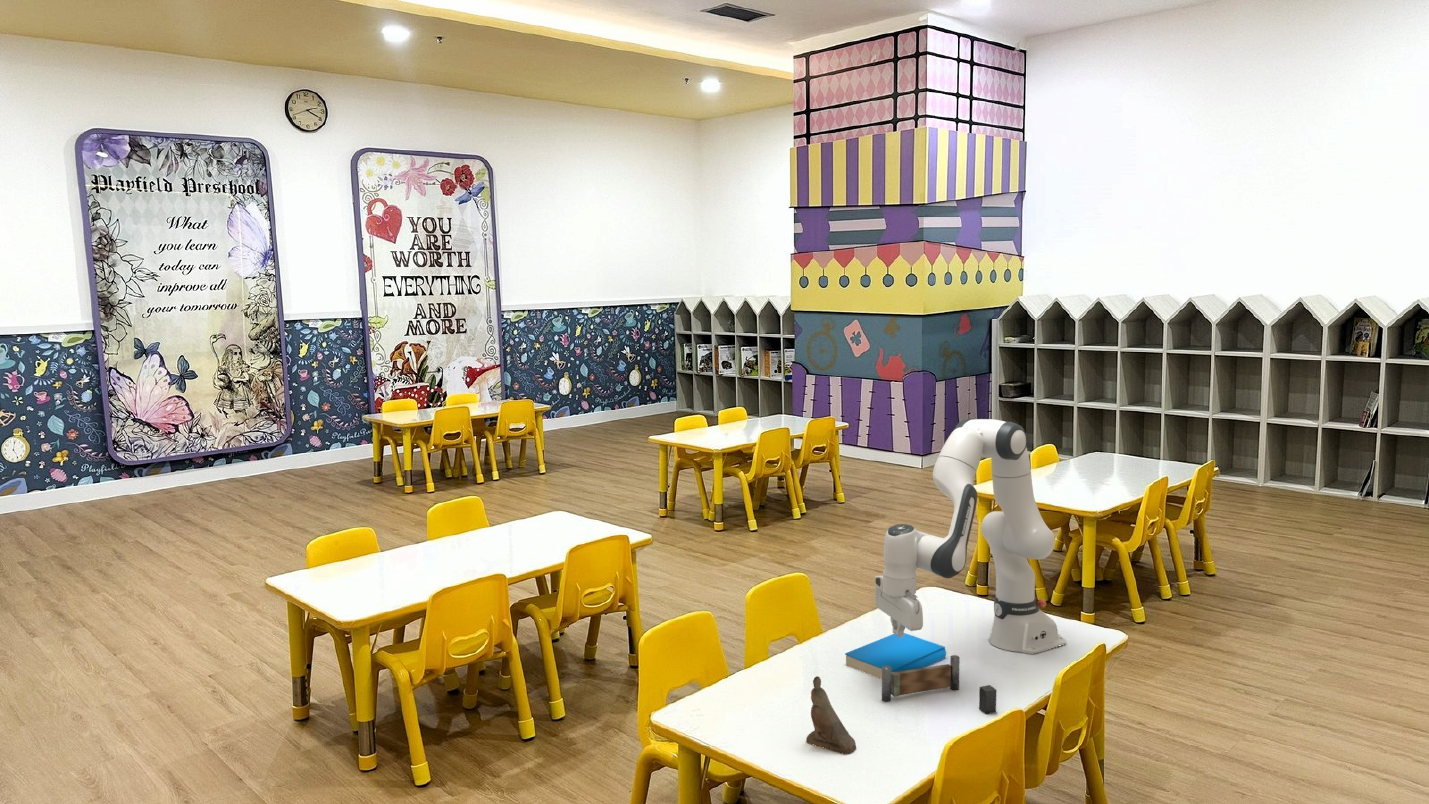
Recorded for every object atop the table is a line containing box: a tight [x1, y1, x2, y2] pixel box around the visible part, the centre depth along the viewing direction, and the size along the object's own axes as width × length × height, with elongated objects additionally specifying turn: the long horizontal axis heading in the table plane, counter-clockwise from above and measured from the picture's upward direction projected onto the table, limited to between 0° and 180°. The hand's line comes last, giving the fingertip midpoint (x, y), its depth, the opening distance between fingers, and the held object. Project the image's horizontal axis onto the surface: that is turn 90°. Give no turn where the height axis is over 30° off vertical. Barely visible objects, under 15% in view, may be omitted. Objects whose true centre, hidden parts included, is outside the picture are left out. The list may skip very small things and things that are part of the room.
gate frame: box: [881, 654, 998, 715], centre depth 250 cm, size 24×17×9 cm
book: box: [844, 632, 947, 680], centre depth 278 cm, size 17×4×25 cm
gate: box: [891, 663, 951, 698], centre depth 256 cm, size 17×2×6 cm, turn 108°
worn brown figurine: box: [805, 676, 857, 755], centre depth 230 cm, size 12×6×18 cm, turn 52°
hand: (898, 635), depth 260 cm, fingers closed
